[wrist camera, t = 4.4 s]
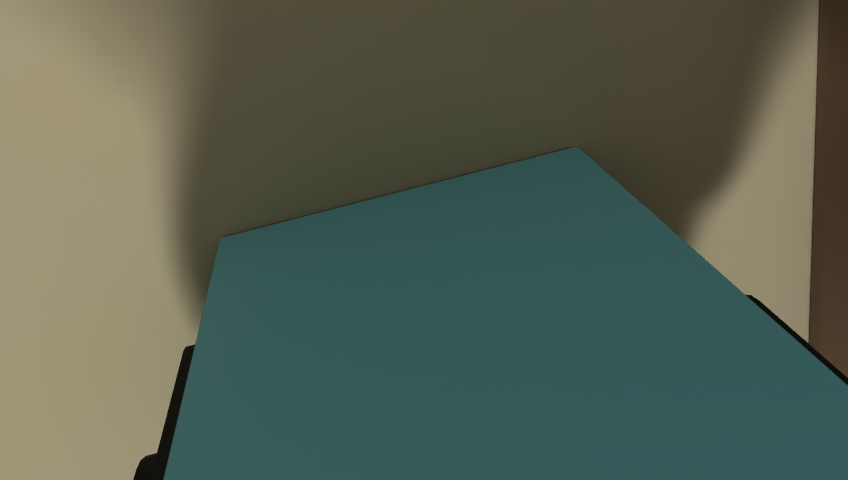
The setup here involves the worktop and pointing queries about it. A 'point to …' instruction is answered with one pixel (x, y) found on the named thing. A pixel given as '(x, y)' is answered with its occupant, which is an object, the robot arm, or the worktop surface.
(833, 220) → the pegboard
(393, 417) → the hollow square block
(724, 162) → the worktop surface
